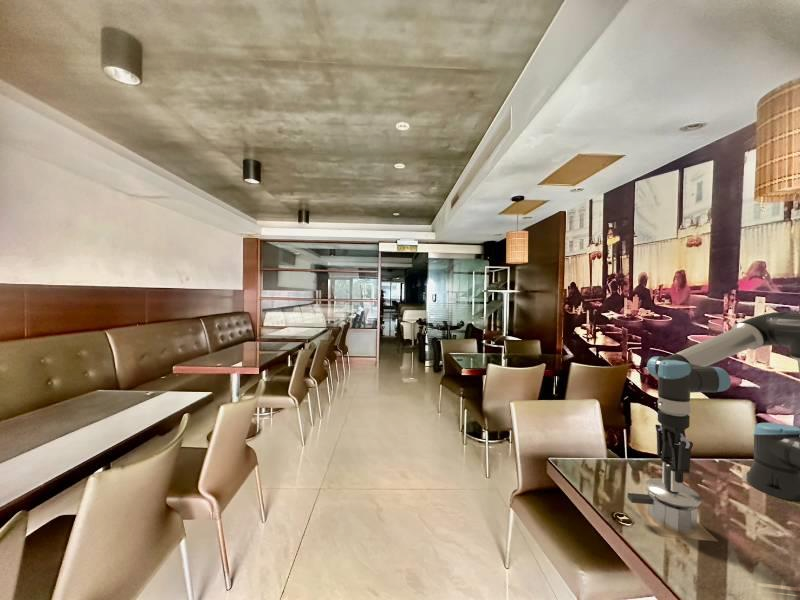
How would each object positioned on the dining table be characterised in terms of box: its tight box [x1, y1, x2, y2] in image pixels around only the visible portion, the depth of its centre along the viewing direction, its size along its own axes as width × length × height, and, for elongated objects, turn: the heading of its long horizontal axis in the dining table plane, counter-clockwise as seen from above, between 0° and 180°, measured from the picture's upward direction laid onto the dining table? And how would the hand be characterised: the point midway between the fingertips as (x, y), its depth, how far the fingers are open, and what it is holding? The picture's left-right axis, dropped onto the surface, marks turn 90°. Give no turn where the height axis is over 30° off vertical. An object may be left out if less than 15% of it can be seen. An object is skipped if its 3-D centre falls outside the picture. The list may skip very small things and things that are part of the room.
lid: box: [645, 462, 701, 508], centre depth 101 cm, size 13×13×9 cm
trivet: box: [631, 502, 718, 542], centre depth 102 cm, size 15×15×1 cm
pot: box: [627, 491, 698, 535], centre depth 102 cm, size 18×12×7 cm, turn 81°
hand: (672, 487), depth 101 cm, fingers closed on lid, 3 cm apart
